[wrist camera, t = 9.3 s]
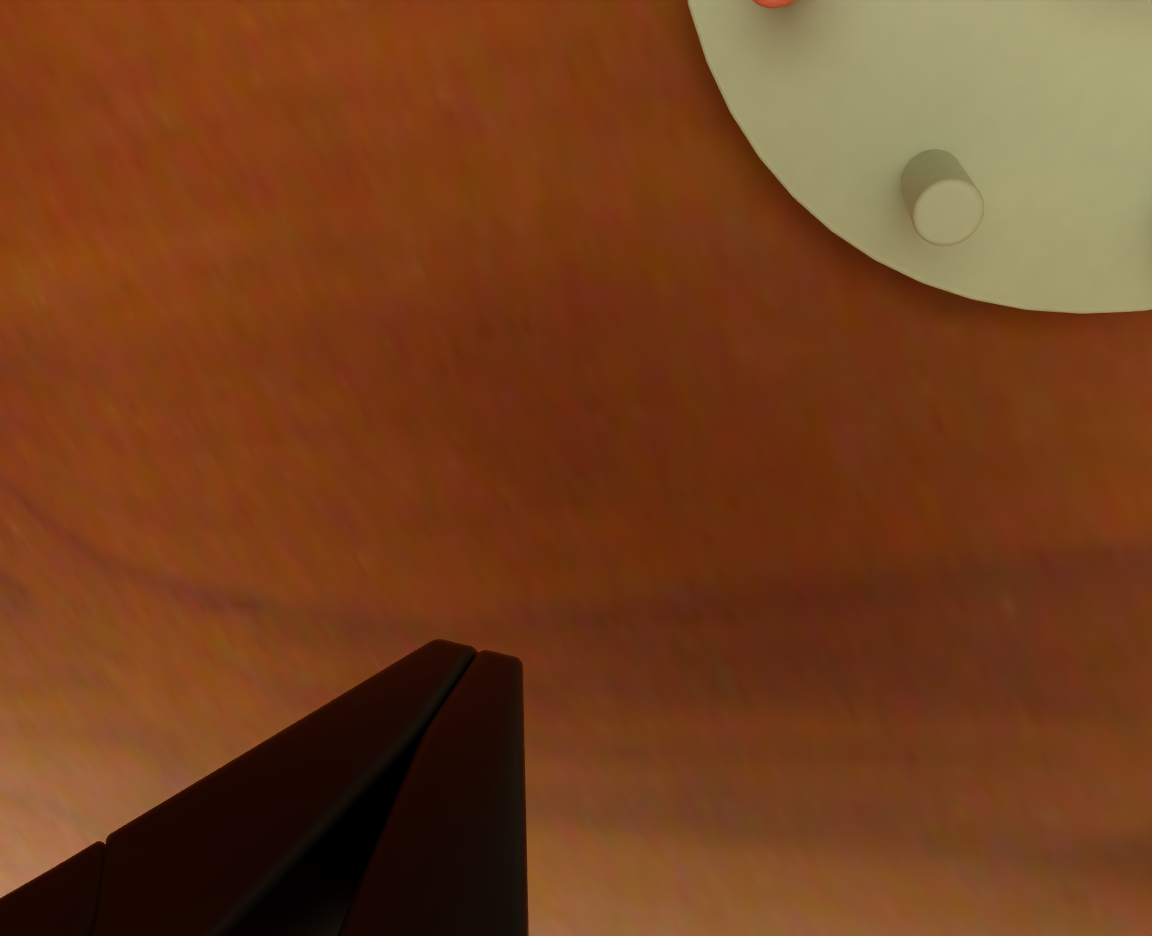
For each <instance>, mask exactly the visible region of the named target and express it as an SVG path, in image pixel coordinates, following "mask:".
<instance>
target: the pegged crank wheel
mask: <svg viewBox="0 0 1152 936" xmlns="http://www.w3.org/2000/svg"><path fill="white" fill-rule="evenodd" d="M687 1H688V6H689V9H690V12H691V15H692V18H693V22H694V25H695V28H696V31H697V34H698V37H699V40H700V43H701V47H702V50H703V53H704V56H705V59H706V62H707V64H708V66H709V68H710V71H711V73H712V75H713V77H714V79H715V81H716V83H717V85H718V88H719V90H720V92H721V94H722V96H723V98H724V100H725V103H726V105H727V107H728V109H729V111H730V113H731V115H732V116H733V118H734V119H735V121H736V122H737V124H738V125H739V127H740V129H741V130H742V132H743V133H744V135H745V136H746V138H747V139H748V141H749V143H750V144H751V146H752V147H753V149H754V150H755V152H756V154H757V155H758V157H759V158H760V159H761V160H762V162H763V163H764V164H765V165H766V166H767V167H768V169H769V170H770V171H771V172H772V173H773V174H774V176H775V177H776V178H777V179H778V180H779V181H780V183H781V184H782V185H783V186H784V187H785V188H786V190H787V191H788V192H789V193H790V194H791V196H792V197H793V198H794V199H795V200H797V201H798V202H799V203H800V204H801V205H802V206H803V207H804V208H806V209H807V210H808V211H809V212H810V213H811V214H812V215H813V216H815V217H816V218H817V219H818V220H819V221H820V222H821V223H823V224H824V225H825V226H826V227H827V228H828V229H829V230H830V231H832V232H833V233H834V234H836V235H837V236H839V237H840V238H842V239H843V240H845V241H846V242H848V243H850V244H851V245H853V246H854V247H856V248H857V249H859V250H860V251H862V252H863V253H865V254H866V255H868V256H869V257H871V258H872V259H874V260H875V261H877V262H879V263H881V264H883V265H886V266H888V267H890V268H892V269H894V270H896V271H898V272H900V273H902V274H904V275H906V276H908V277H910V278H912V279H914V280H916V281H919V282H921V283H923V284H926V285H929V286H932V287H936V288H939V289H942V290H945V291H948V292H951V293H954V294H957V295H960V296H963V297H966V298H969V299H972V300H977V301H982V302H988V303H993V304H998V305H1003V306H1008V307H1013V308H1019V309H1024V310H1035V311H1050V312H1064V313H1078V314H1088V313H1109V312H1131V311H1145V310H1151V309H1152V0H687Z"/></svg>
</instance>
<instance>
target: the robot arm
mask: <svg viewBox="0 0 1152 936" xmlns="http://www.w3.org/2000/svg"><path fill="white" fill-rule="evenodd" d="M0 936H529V932H528V886H527V840H526V795H525V749H524V703H523V666H522V662H521V660H520V659H519V658H517V657H514V656H509V655H505V654H501V653H497V652H493V651H489V650H483V651H481V652H479V653H478V652H477V651H476V649H475V648H474V647H472V646H468V645H464V644H460V643H455V642H451V641H447V640H443V639H436V640H433V641H431V642H429V643H427V644H425V645H424V646H422V647H420V648H419V649H417V650H415V651H414V652H412V653H410V654H409V655H407V656H405V657H404V658H402V659H400V660H399V661H397V662H395V663H394V664H392V665H390V666H389V667H387V668H385V669H384V670H382V671H380V672H379V673H377V674H375V675H374V676H372V677H370V678H369V679H367V680H365V681H364V682H362V683H360V684H359V685H357V686H355V687H354V688H352V689H350V690H349V691H347V692H345V693H344V694H342V695H341V696H339V697H337V698H336V699H334V700H332V701H331V702H329V703H327V704H326V705H324V706H322V707H321V708H319V709H317V710H316V711H314V712H312V713H311V714H309V715H307V716H306V717H304V718H302V719H301V720H299V721H297V722H296V723H294V724H292V725H291V726H289V727H287V728H286V729H284V730H282V731H281V732H279V733H277V734H276V735H274V736H272V737H271V738H269V739H267V740H266V741H264V742H262V743H261V744H259V745H257V746H256V747H254V748H252V749H251V750H249V751H247V752H246V753H244V754H242V755H241V756H239V757H237V758H236V759H234V760H232V761H231V762H229V763H227V764H226V765H224V766H222V767H221V768H219V769H217V770H216V771H214V772H213V773H211V774H209V775H208V776H206V777H204V778H203V779H201V780H199V781H198V782H196V783H194V784H193V785H191V786H189V787H188V788H186V789H184V790H183V791H181V792H179V793H178V794H176V795H174V796H173V797H171V798H169V799H168V800H166V801H164V802H163V803H161V804H159V805H158V806H156V807H154V808H153V809H151V810H149V811H148V812H146V813H144V814H143V815H141V816H139V817H138V818H136V819H134V820H133V821H131V822H129V823H128V824H126V825H124V826H123V827H121V828H119V829H118V830H116V831H114V832H113V833H111V834H110V835H108V837H107V839H106V845H105V844H104V843H103V842H101V841H98V842H96V843H94V844H92V845H90V846H89V847H87V848H86V849H84V850H82V851H81V852H79V853H77V854H76V855H74V856H72V857H71V858H69V859H67V860H66V861H64V862H62V863H61V864H59V865H57V866H56V867H54V868H52V869H50V870H49V871H47V872H45V873H43V874H42V875H40V876H38V877H37V878H35V879H33V880H31V881H30V882H28V883H26V884H24V885H23V886H21V887H19V888H17V889H16V890H14V891H12V892H10V893H9V894H7V895H5V896H3V897H2V898H0Z"/></svg>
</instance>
